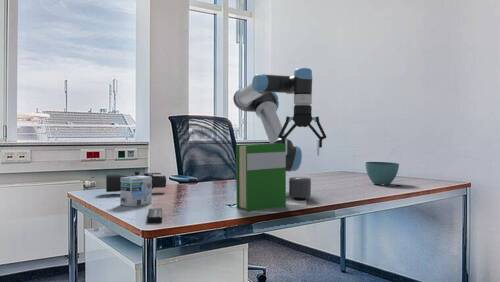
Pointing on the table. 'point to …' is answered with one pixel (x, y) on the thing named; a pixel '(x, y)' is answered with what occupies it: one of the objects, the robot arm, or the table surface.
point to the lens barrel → (299, 198)
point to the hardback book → (260, 176)
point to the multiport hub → (155, 215)
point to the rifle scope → (115, 180)
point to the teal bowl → (381, 172)
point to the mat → (294, 202)
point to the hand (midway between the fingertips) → (301, 155)
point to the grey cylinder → (299, 187)
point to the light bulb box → (136, 190)
